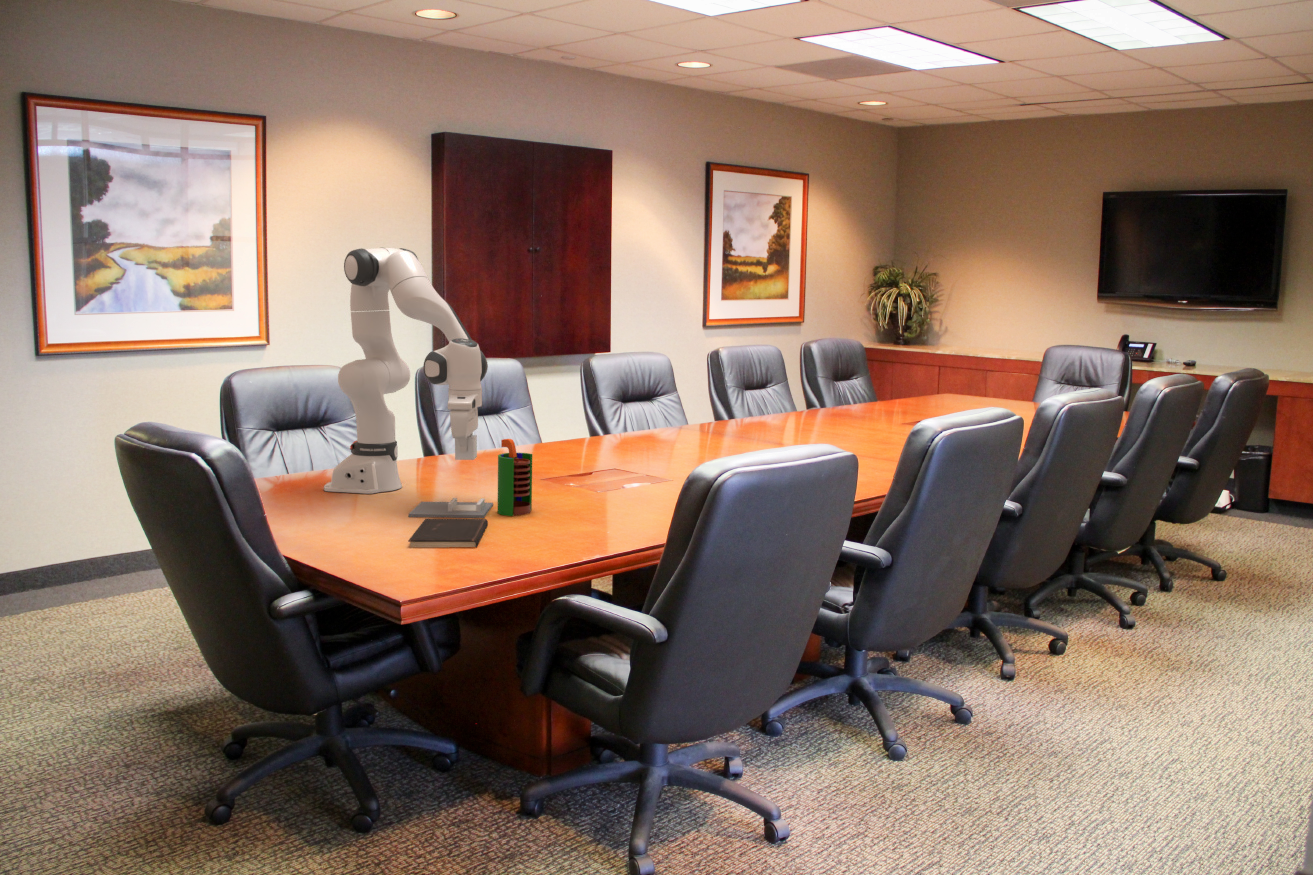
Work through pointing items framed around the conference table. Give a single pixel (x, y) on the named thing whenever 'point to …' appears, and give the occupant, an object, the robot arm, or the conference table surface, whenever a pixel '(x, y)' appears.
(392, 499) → the conference table surface
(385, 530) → the conference table surface
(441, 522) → the hardcover book
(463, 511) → the mounting plate
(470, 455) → the white cube with knob
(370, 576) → the conference table surface
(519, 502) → the motor
